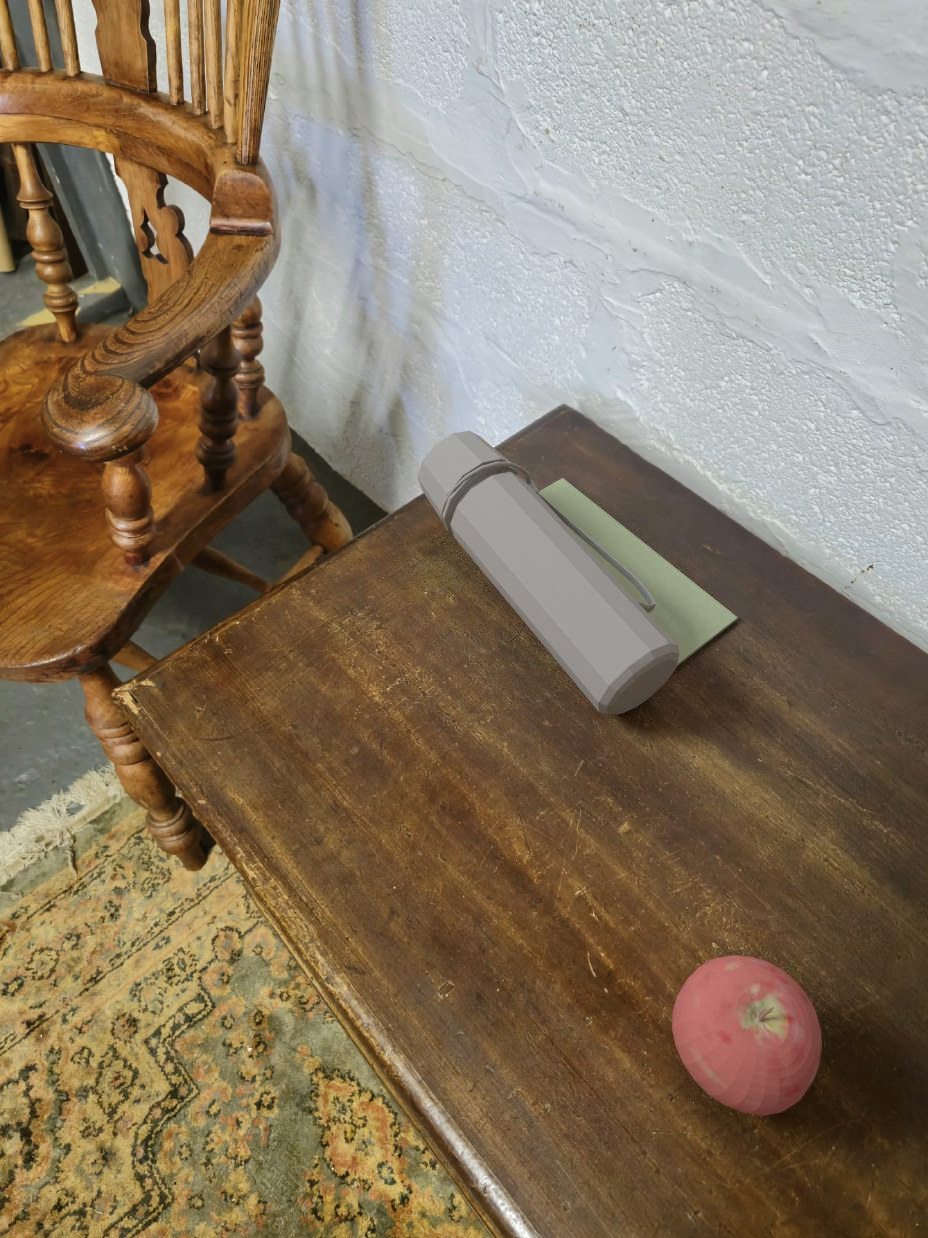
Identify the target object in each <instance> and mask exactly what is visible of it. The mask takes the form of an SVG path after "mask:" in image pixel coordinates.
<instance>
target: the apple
mask: <svg viewBox="0 0 928 1238" xmlns="http://www.w3.org/2000/svg"><path fill="white" fill-rule="evenodd" d="M671 1015H672V1016H671V1031H672V1035H673V1040H674V1047H675V1049H676V1050H677V1053H678V1055H679V1057H680V1060H681V1061H682V1064H683V1065H684V1067H685V1069H686V1070H687V1071H688V1073H689V1075H690V1076H691V1077H692V1079H693V1081H695V1083H696V1084H698V1086H699V1087H701V1089H703V1091H704V1092H705V1093H706V1094H707V1095H708V1096H710V1097H711V1098H713V1099H715V1100H716V1101H717V1102H718V1103H720V1104H722V1105H723V1106H725V1107H728V1108H731V1109H733V1110H736V1111H738V1112H739V1113H744V1114H749V1115H755V1116H759V1117H760V1116H761V1117H762V1116H770V1115H775V1114H780V1113H783V1112H785V1111H786V1110H789V1108H791V1107H792V1106H794V1105H795V1104H797V1103H798V1102H800V1100H801V1099H803V1097H804V1095H805V1094H806V1093H807V1091H808V1090H809V1088H810V1087H811V1085H812V1084H813V1082H814V1080H815V1078H816V1075H817V1072H818V1070H819V1067H820V1063H821V1055H822V1050H823V1040H822V1039H823V1038H822V1029H821V1025H820V1021H819V1018H818V1015H817V1011H816V1009H815V1007H814V1006H813V1003H812V1002H811V1000H810V998H809V996H808V995H807V993H806V992H805V991H804V990H803V988H802V987H801V985H800V984H799V982H797V980H795V979H794V978H793V977H791V975H789V974H788V973H787V972H786V971H784V970H783V969H782V968H780V967H778V966H776V965H775V964H773V963H772V962H769V961H767V960H764V959H761V958H757V957H755V956H748V955H737V954H735V955H732V954H731V955H727V956H719V957H714V958H711V959H710V960H707V961H706V962H705V963H703V964H701V965H700V966H698V967H697V968H696V969H695V970H694V971H693V972H692V973H691V975H689V976H688V978H686V980H685V982H684V984H683V985H682V987H681V989H680V990H679V992H678V994H677V995H676V999H675V1002H674V1006H673V1009H672V1013H671Z"/></svg>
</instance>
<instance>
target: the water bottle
mask: <svg viewBox="0 0 928 1238" xmlns="http://www.w3.org/2000/svg"><path fill="white" fill-rule="evenodd" d="M517 470H518V471H520V472H521V473H523V475H524V476H525V478H526V479H524V478H523V477H521V476H519V474H518V471H517ZM417 480H418V483H419V486H420V489H421V491H422V492H423V494H424V495H425V497H426V498H427V500H428V501H429V503H430V505H431V506H432V508H433V509H434V511H435V513H436V514H437V516H438V517H439V519H440V520H441V523H442V526H443V527H444V529H445V530H446V531H447V532H448V533H450V534H452V535H453V538H454V539H455V541H457V542H458V544H459V545H460V546H461V548H463V550H464V551H465V552H466V553H467V555H468V556H469V557H470V558H471V559H472V560H473V562H474V563H475V565H476V566H477V567H478V568H479V569H480V570H481V571H482V572H483V574H484V576H485V577H486V578H487V579H488V580H489V581H490V582H491V584H492V585H493V586H494V588H495V589H496V590H497V591H499V593H500V595H502V597H503V598H504V599H505V601H506V602H507V603H508V604H509V606H510V607H511V608H512V609H513V610H514V611H515V613H516V615H518V616H519V617H520V619H521V620H522V621H523V622H524V623H525V625H526V626H527V627H528V629H530V630H531V632H532V633H533V634H534V635H535V637H536V638H537V639H538V641H540V642H541V644H542V645H543V646H544V648H545V649H546V650H547V651H548V653H550V655H551V656H552V658H554V659H555V661H556V662H557V663H558V664H559V666H560V667H561V668H562V669H563V671H564V672H565V673H566V674H567V675H568V677H569V678H570V679H571V680H572V681H573V682H574V684H575V685H576V686H577V687H578V688H579V690H580V691H581V692H582V693H583V695H584V696H585V697H586V699H588V701H589V702H590V703H591V705H592V706H593V707H594V708H595V710H596V711H598V713H601V714H604V715H609V716H612V715H614V716H618V715H621V714H624V713H626V712H628V711H630V710H634V709H635V708H637V707H639V706H640V705H642V703H644V702H646V701H647V700H649V699H650V698H651V697H653V696H654V695H655V693H657V692H658V690H660V689H661V688H662V687H663V686H664V685H665V684H666V683H668V681H669V679H670V678H671V676H672V675H673V673H674V672H675V670H676V669H677V667H678V666H677V663H678V658H679V647H678V645H677V644H676V643H675V642H674V641H673V640H672V638H671V637H670V636H669V635H668V634H667V633H666V632H665V631H664V630H663V629H662V628H661V627H660V626H659V625H658V623H657V622H656V621H655V620H654V619H653V618H652V617H651V616H650V615H649V614H648V613H649V612H650V611H652V610H654V608H655V605H656V603H655V601H654V599H653V598H652V596H651V594H650V592H649V591H648V590H647V589H646V588H645V586H644V585H643V584H642V583H641V582H640V580H639V579H638V578H637V577H636V576H635V575H634V574H632V573H631V572H630V571H629V570H628V569H627V568H625V567H624V566H623V565H622V564H621V563H620V562H618V561H617V560H616V559H615V558H614V557H613V556H611V555H610V554H609V553H608V552H607V551H606V550H604V549H603V548H602V547H601V546H600V545H599V544H598V543H596V542H595V541H594V540H593V539H592V538H591V537H589V536H588V535H587V534H586V533H585V532H584V531H582V530H581V529H580V528H579V527H578V526H577V525H575V524H574V523H573V522H572V521H571V520H570V519H569V518H567V517H566V516H565V515H564V514H563V513H562V512H560V511H559V510H558V509H557V508H556V507H555V506H553V505H552V504H551V503H550V502H549V501H548V500H546V499H545V498H544V497H543V496H542V495H541V494H539V491H540V489H538V487H537V486H536V484H535V482H534V480H533V479H532V474H531V473H530V472H529V471H528V470H527V469H526V468H525V467H524V466H522V465H519V464H517V463H515V462H513V461H510V460H509V459H508V458H506V457H505V456H504V455H503V454H502V453H501V452H499V451H498V450H497V449H495V448H494V446H492V445H491V444H490V443H489V442H487V440H485V439H484V438H483V437H482V436H480V435H479V434H477V433H475V432H473V431H471V430H464V431H460V432H453V433H451V434H450V435H448V436H446V437H445V438H443V439H442V440H440V441H439V442H436V443H435V444H434V446H433V447H432V448H431V449H430V450H429V452H428V453H427V454H426V455H425V456H424V458H423V459H422V461H421V464H420V467H419V470H418V474H417ZM566 525H567V526H568V527H569V528H571V529H572V530H573V531H574V532H575V533H576V534H577V535H578V536H580V537H581V538H582V539H583V540H584V541H585V542H586V543H587V544H589V545H590V546H591V547H592V548H593V549H594V550H595V551H597V552H598V553H599V554H600V555H601V556H602V557H603V558H604V559H606V560H607V561H608V562H609V563H610V564H611V565H612V566H613V567H615V568H616V569H617V570H618V571H619V572H620V573H621V574H623V575H624V576H625V577H626V578H627V579H628V580H629V581H630V582H632V583H633V584H634V585H635V587H636V588H637V589H638V590H639V591H640V593H641V594H642V595H643V596H644V598H645V599H646V600H647V602H648V604H649V605H645V604H642V603H639V602H637V601H636V600H635V599H634V598H633V597H632V595H631V594H630V593H629V592H628V591H627V590H626V589H625V588H624V587H623V586H622V585H621V584H620V583H619V582H618V580H617V579H616V578H615V577H614V576H613V575H612V574H611V573H610V572H609V571H608V570H607V569H606V568H605V566H604V565H603V564H602V563H601V562H600V561H599V560H598V559H597V558H596V557H595V556H594V555H593V554H592V552H591V551H590V550H589V549H588V548H587V547H586V546H585V545H584V544H583V543H582V542H581V541H580V540H579V539H578V537H577V536H576V535H575V534H574V533H573V532H572V531H571V530H570V529H569V528H568V527H567V526H566ZM676 666H677V667H676Z"/></svg>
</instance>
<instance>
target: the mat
mask: <svg viewBox="0 0 928 1238" xmlns="http://www.w3.org/2000/svg"><path fill="white" fill-rule="evenodd" d="M539 494H541V495H542V496H543V497H544V498H545V499H546V500H548V501H549V502H550V503H551V504H552V505H553V506H555V507H556V508H557V509H558V510H559V511H560V512H562V513H563V514H564V515H565V516H566V517H567V518H569V519H570V520H571V521H572V522H573V523H574V524H575V525H577V526H578V527H579V528H580V529H581V530H582V531H584V532H585V533H586V534H587V535H588V536H589V537H591V538H592V539H593V540H594V541H595V542H596V543H598V544H599V545H600V546H601V547H602V548H603V549H604V550H606V551H607V552H608V553H609V554H610V555H611V556H613V557H614V558H615V559H616V560H617V561H618V562H620V563H621V564H622V565H623V566H624V567H625V568H627V569H628V570H629V571H630V572H631V573H632V574H634V575H635V576H636V577H637V578H638V579H639V580H640V582H641V583H642V584H643V585H644V586H645V588H646V589H647V590H648V591H649V592H650V594H651V596H652V598H653V599H654V601H655V603H656V605H655V608H654V610H652V611H650V612H649V613H648V614H649V615H650V616H651V617H652V618H653V619H654V620H655V621H656V622H657V623H658V625H659V626H660V627H661V628H662V629H663V630H664V631H665V632H666V633H667V634H668V635H669V636H670V637H671V638H672V640H673V641H674V642H675V643H676V644H677V645H678V647H679V658H678V663H677V666H676V668H677V667H678V666H679V665H680V664H682V663H684V662H685V661H686V660H687V659H689V658H690V657H691V656H693V655H694V654H695V653H697V652H698V651H699V650H700V649H701V648H703V647H704V646H706V645H707V644H708V643H710V642H711V641H712V640H713V639H714V638H716V637H718V635H720V634H721V633H723V632H724V631H725V630H726V629H728V628H729V627H730V626H731V625H733V624H734V623H736V622H737V621H738V619H739V617H738V616H737V615H736V614H734V613H733V612H732V611H731V610H730V609H728V608H727V607H725V605H723V604H722V603H721V602H719V601H718V600H716V598H714V597H713V596H712V595H711V594H709V593H708V592H707V591H705V590H704V589H703V588H701V587H700V586H699V585H698V584H696V583H695V582H694V581H693V580H692V579H691V578H690V577H688V576H686V575H685V574H684V573H683V572H682V571H680V570H679V569H677V568H676V567H675V566H674V565H673V564H672V563H670V562H669V561H668V560H667V559H665V558H664V557H663V556H662V555H660V554H659V553H658V552H657V551H655V550H654V549H653V548H652V547H650V546H649V545H648V544H646V543H645V542H644V541H643V540H642V539H640V538H639V537H638V536H637V535H635V534H634V533H633V532H631V531H630V530H629V529H628V528H626V527H625V526H624V525H623V524H621V523H620V522H619V521H618V520H616V519H615V518H614V517H613V516H611V515H610V514H609V513H608V512H606V511H605V510H604V509H603V508H601V507H600V506H599V505H598V504H596V502H594V501H593V500H591V499H590V498H589V497H588V496H586V495H585V494H584V493H582V492H581V491H580V489H578V488H576V487H575V486H574V485H572V483H570V482H569V481H567V480H566V479H565V478H564V477H561V478H560V479H558V480H556V481H554V482H552V483H551V484H550V485H547V486H546V487H544V488H542V489H540V490H539ZM566 526H567V525H566ZM567 527H568V526H567ZM568 528H569V527H568ZM569 529H570V530H571V531H572V532H573V533H574V534H575V535H576V536H577V537H578V539H579V540H580V541H581V542H582V543H583V544H584V545H585V546H586V547H587V548H588V549H589V550H590V551H591V552H592V554H593V555H594V556H595V557H596V558H597V559H598V560H599V561H600V562H601V563H602V564H603V565H604V566H605V568H606V569H607V570H608V571H609V572H610V573H611V574H612V575H613V576H614V577H615V578H616V579H617V580H618V582H619V583H620V584H621V585H622V586H623V587H624V588H625V589H626V590H627V591H628V592H629V593H630V594H631V595H632V597H633V598H634V599H635V600H636V601H637V602H639V603H642V604H645V605H649V604H648V602H647V600H646V599H645V598H644V596H643V595H642V594H641V593H640V591H639V590H638V589H637V588H636V587H635V585H634V584H633V583H632V582H630V581H629V580H628V579H627V578H626V577H625V576H624V575H623V574H621V573H620V572H619V571H618V570H617V569H616V568H615V567H613V566H612V565H611V564H610V563H609V562H608V561H607V560H606V559H604V558H603V557H602V556H601V555H600V554H599V553H598V552H597V551H595V550H594V549H593V548H592V547H591V546H590V545H589V544H587V543H586V542H585V541H584V540H583V539H582V538H581V537H580V536H578V535H577V534H576V533H575V532H574V531H573V530H572V529H571V528H569Z"/></svg>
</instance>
